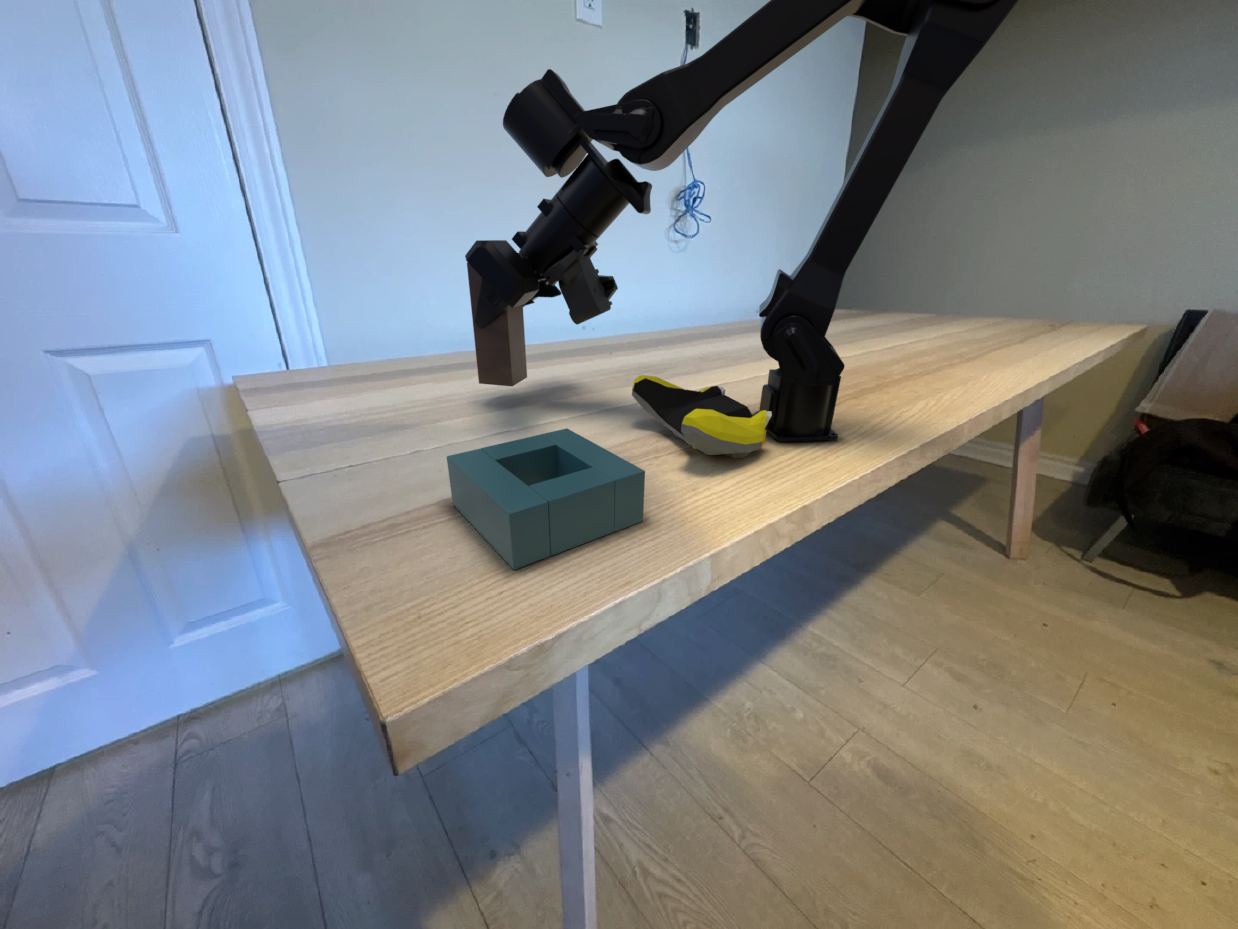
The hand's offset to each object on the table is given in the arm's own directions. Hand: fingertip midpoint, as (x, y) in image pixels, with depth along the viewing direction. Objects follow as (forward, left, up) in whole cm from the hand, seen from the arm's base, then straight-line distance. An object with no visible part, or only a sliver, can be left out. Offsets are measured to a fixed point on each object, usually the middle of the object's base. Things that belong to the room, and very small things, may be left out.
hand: (487, 322), depth 58 cm
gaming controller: (-21, +15, -9) cm, 27 cm away
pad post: (-1, +1, -7) cm, 7 cm away
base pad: (-6, +28, -9) cm, 30 cm away
